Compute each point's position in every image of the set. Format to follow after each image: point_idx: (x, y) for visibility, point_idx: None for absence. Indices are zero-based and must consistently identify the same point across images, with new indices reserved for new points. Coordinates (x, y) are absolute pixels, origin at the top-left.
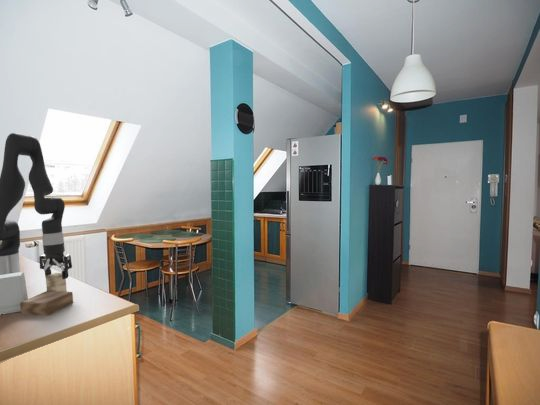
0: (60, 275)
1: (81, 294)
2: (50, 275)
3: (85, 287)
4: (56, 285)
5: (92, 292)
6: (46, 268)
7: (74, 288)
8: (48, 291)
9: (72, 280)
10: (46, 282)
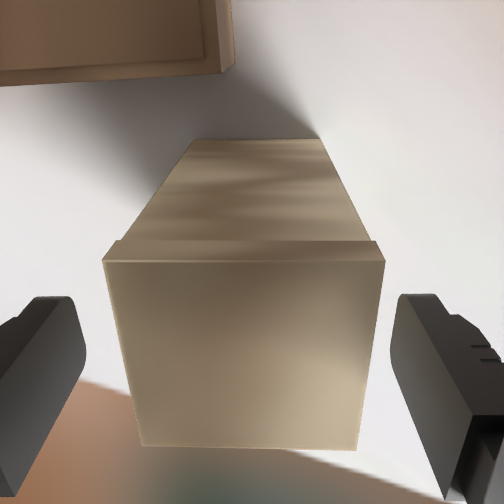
0: (130, 357)
1: (62, 268)
2: (307, 316)
3: None
4: (156, 195)
5: (12, 315)
6: (495, 479)
7: None
8: (150, 32)
9: (425, 482)
10: (346, 205)
